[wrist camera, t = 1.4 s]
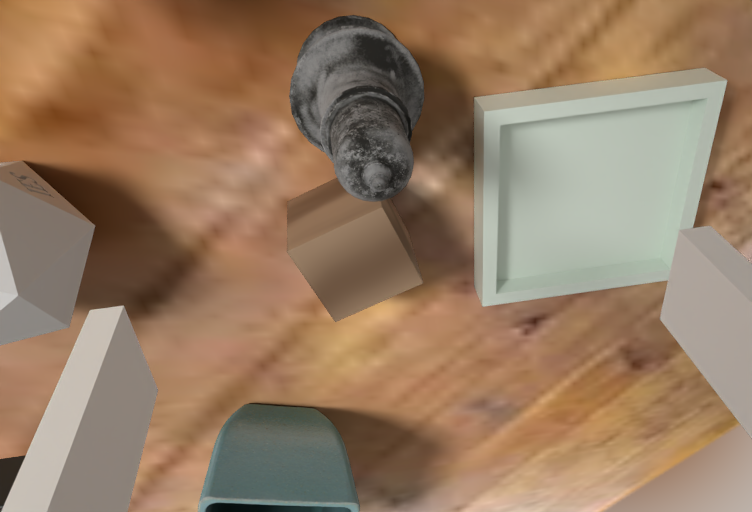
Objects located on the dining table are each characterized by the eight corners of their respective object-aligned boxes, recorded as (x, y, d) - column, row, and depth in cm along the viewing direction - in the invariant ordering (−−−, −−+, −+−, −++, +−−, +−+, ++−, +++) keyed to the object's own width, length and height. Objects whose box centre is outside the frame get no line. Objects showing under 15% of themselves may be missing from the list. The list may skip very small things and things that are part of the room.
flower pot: (216, 377, 40) (198, 500, 32) (350, 387, 42) (362, 505, 34) (206, 465, 44) (189, 591, 37) (327, 471, 46) (334, 591, 39)
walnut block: (287, 200, 33) (286, 251, 29) (370, 160, 33) (381, 207, 29) (330, 267, 36) (335, 322, 32) (408, 231, 35) (423, 283, 31)
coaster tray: (473, 97, 31) (484, 111, 30) (704, 67, 32) (727, 80, 30) (474, 286, 38) (482, 306, 36) (664, 259, 38) (680, 278, 37)
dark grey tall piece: (308, 142, 32) (314, 280, 22) (274, 25, 28) (264, 125, 18) (420, 115, 31) (479, 241, 22) (400, -6, 28) (457, 78, 18)
